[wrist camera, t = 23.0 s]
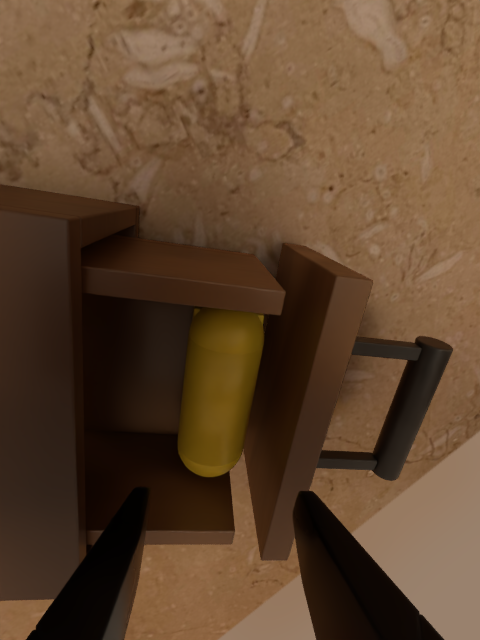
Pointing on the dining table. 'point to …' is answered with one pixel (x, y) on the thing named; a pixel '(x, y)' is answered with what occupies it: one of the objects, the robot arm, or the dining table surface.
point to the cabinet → (44, 383)
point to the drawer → (269, 396)
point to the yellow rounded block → (218, 388)
